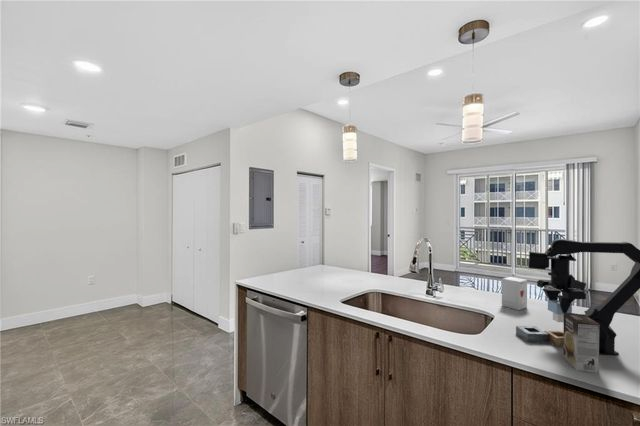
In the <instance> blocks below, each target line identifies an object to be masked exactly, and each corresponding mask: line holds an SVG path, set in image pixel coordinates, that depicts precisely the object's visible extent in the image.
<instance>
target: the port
mask: <svg viewBox="0 0 640 426" xmlns="http://www.w3.org/2000/svg"><path fill="white" fill-rule="evenodd" d="M544 331H545V330H543V329H541V328H539V327H538V326H535V325H516V326H515V335H517V336H519V337H520V338H522V340H524V341H526V342H527V343H550V342H549V334H548V333H546V332H544Z"/></svg>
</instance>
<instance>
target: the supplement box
mask: <svg viewBox="0 0 640 426" xmlns="http://www.w3.org/2000/svg"><path fill="white" fill-rule="evenodd" d="M502 306H503V307H505V308H510V309H513V310H517V311H520V310H523V309H526V308H528V279H527V278H525V279H524V278H520V277H514V276H508V277H504V278H502V279H501V307H502Z"/></svg>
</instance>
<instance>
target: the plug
mask: <svg viewBox="0 0 640 426" xmlns="http://www.w3.org/2000/svg"><path fill="white" fill-rule="evenodd" d="M547 311H549V312H552V320H553V321H555V322H557V323H564V314H563V312H562V309H561V306H560V302H559V299H558V300H549V299H548V300H547ZM567 313H573V304H572V303H571V305H570V307H569V309H568V311H567Z"/></svg>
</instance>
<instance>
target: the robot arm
mask: <svg viewBox="0 0 640 426" xmlns="http://www.w3.org/2000/svg"><path fill="white" fill-rule="evenodd" d="M579 253H599V254H601V253H604V254H605V253H606V254H609V253H610V254H623V255H625V256H626V257H627V258H629V259H630V260H631V261H633V262H634V265H633V266H632V268H631V270H630V274H629V275H628V276H627V277H626V278H625V279H624V281H622V282H621V284H619V286H617V288H616V289H615V290H614V291H613V292H612V293H611V294H610V295H609V296H608V297H607V298H606V299H605V300H604V301H603V302H602V303H601V304H599V305H597V306H595V305H594V304H591V305H590V306H589V307H588V309H587V310H584V311H583V312H584V315H586V316H587V317H589V318H591V319H592V320H594V321H595V322H597V323H599V355H614V356H615V355H620V353H619V352H618V351H616V350H615V341H616V340H615V339H616V337H617V333H616V332H615V331H614V329H613V328H612V327H611V326H610V325H611V324H612V321H613V319H614V316H615V315H616V313H617V312H618V311H619V310H620V309H621V308H622V307H623V306H624V305H625V304H626V303H627V302H628V301H629V300H630V299H631V298H632V297H633V296H634V295H635V294H636V293H637V292H638V291H639V290H640V249H639V248H637V247H636V246H635V245H634V244H632V243H631V242H627V241H622V242H621V241H620V242H615V241H613V242H611V241H610V242H609V241H608V242H606V241H602V242H601V241H578V240H577V241H576V240H573V239H572V240H571V239H564V238H555V239H553V240H552V241H551V243H550V247H549V248H547V250H545V252H534V251H529V252H528V258H527V260H528V263H527V264H528V269H533V270H534V269H535V270H547V269H548V268H550V271H548V273H547V275H548V276H550V279H539V280H537V282H536V284H537V285H536V286H537V288H542V289H541V290H542V291H543V293H544V294H545V296H546V297H547V299H548V300H559V302H560V306H561V309H562V312H563V313H567V311H568V309H569V307H570V305H571V304H572V303H573V301H575V300H587V293H586V292H585V288H586V286H587V282H583V281H580V280H578V279H576V278H575V277H574V276H573V274H570V266H571V264H570V262H571V261H572V262H576V261H577V259H576V257H574V256H573V255H572V254H579ZM560 294H561V295H560Z"/></svg>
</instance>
